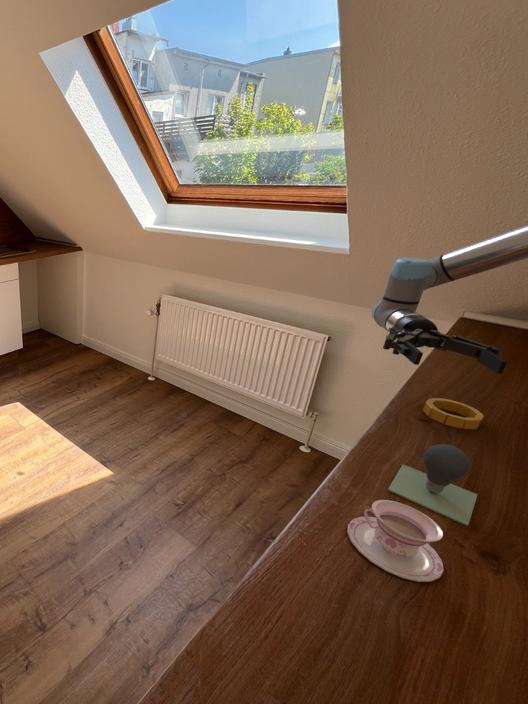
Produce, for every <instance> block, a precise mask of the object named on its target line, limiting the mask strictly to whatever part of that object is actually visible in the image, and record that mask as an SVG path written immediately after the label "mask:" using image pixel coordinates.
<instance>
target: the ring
mask: <svg viewBox="0 0 528 704" xmlns="http://www.w3.org/2000/svg"><path fill="white" fill-rule="evenodd" d="M443 410H445V411H443ZM446 411H449V412H453V413H456V414H451V413H448V412H446ZM422 412H423V413H424V414H425V415H426V416H427V417H429V418H430V419H432V420H434V421H436V422H438V423H441V424H442V425H445V426H449V427H452V428H456V429H462V430H477V429H478V428H479V427H480V426H481V424H482V422H483V420H484V417H485V415H484V414H483V413H482V412H481V411H480V410H478V409H477V408H475V407H473V406H470V405H468V404H466V403H463V402H460V401H457V400H452V399H447V398H442V397H440V398H439V397H438V398H437V397H431V398H428V399H427V400H426V401H425V403H424V406H423V408H422ZM457 414H458V415H457ZM459 415H460V416H459Z"/></svg>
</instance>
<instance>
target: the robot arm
mask: <svg viewBox="0 0 528 704" xmlns="http://www.w3.org/2000/svg"><path fill="white" fill-rule="evenodd" d="M526 259H528V224H525V225H523V226H520V227H517V228H514V229H512V230H509V231H506V232H503V233H500V234H496V235H494V236H492V237H488V238H486V239H483V240H480V241H477V242H475V243H472V244H469V245H466V246H463V247H461V248H457V249H455V250H452V251H449V252H446V253H443V254H441V255H437V256H435V257H432V258H430V259H426V258H418V257H399V258H397V259H396V260H395V262H394V264H393V266H392V268H391V270H390V272H389V277H388V281H387V283H386V287H385V290H384V293H383V297H382V299H381V300H380V301H378V302H377V303H376V304H374V306H373V307H372V310H371V317H372V319H373V320H374V321H375V323H376V324H377V325H378V326H379V327H380V328H383V329H384V330H385V331H387V333H386V335H385V340H384V343H383V346H382V349H383V350H386V351H387V350H390V349H393V350H392V352H391V354H393V355H397V356H399V355H402V356H404V357H405V358H406V359H407V360H408V361H410V362H411V363H412V364H413V365H414V366H415V365H416V366H419V365H420V362H421V360H422V358H423V355H424V352H422V351H421V350H420V349H418V348H423V347H427V348H434V349H436V350H440V351H443V352H445V351H449V352H450V351H451V352H454V353H458V354H461V355H464V356H468V357H470V358H473V359H477V362H479V363H480V364H482V365H483V366H485V367H486V368H488V369H490V370H491V371H492V372H494V373H496V374H498V375H503V373H504V371H505V368H506V366H507V364H508V360H505V359H504V358H502V357H500V354H501V349H500V348H497V347H494V346H493V345H488V344H485V343H482V342H479V341H477V340H474V339H470V338H468V337H465V336H463V335H461V334H458V333H452V335H449V334H447V333H446V334H445V333H442V332H441V331H439V329H438V327H437V325H436V324H435V323H434V322H433V321H432V320H430V319H428V318H427V317H426V316H424V315H422V314H421V313H419V312H417V309H418V306H419V304H420V301H421V298H422V295H423V293H424V291H426V290H429V289H431V288H436V287H439V286H441V285H445V284H449V283H451V282H454V281H458V280H460V279H464V278H467V277H470V276H474V275H478V274H480V273H484V272H487V271H491V270H494V269H497V268H500V267H503V266H507V265H510V264H513V263H514V264H515V263H517V262H520V261H524V260H526ZM442 345H443V346H442Z"/></svg>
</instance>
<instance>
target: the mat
mask: <svg viewBox="0 0 528 704" xmlns="http://www.w3.org/2000/svg"><path fill="white" fill-rule="evenodd" d="M427 479H428V478H427V472H426V473H425V472H423V471H421V470H418V469H415V468H413V467H410V466H409V465H405V464H401V467H400V468H399V470H398V471H397V473H396V475H395V476H394V478H393V480H392V481H391V483H390V484H389V486H388V488H387V491H388V492H390V493H393V494H394V495H397V496H399V497H401V498H402V499H405V500H408V501H411V502H412V503H414V504H416V505H418V506H421V507H423V508H425V509H428V510H430V511H432V512H433V513H434V512H435V513H436V514H439V515H441V516H443V517H445V518H448V519H450V520H452V521H454V522H457V523H459V524H460V525H463V526H465V527H469V524H470V521H471V518H472V514H473V510H474V509H475V504H476V502H477V498H478V493H475V492H472V491H470V490H468V489H465V488H463V487H460V486H458V485H455V484H453V483H450V484H449V485H447V486H445V488H444V490H443V491H442V492H441V493H434V492H431V491H430V490H428V489H427V488H426V485H425V484H426V481H427Z"/></svg>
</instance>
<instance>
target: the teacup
mask: <svg viewBox="0 0 528 704" xmlns="http://www.w3.org/2000/svg"><path fill="white" fill-rule="evenodd" d="M363 507H364V509H363V516H358V517H355V518H352V519H351V521H350V522H349V523H348V524H347V529H346V533H347V536H348V538H349V540H350V542H351V544H352V545H353V546H354V547H355V549H356V550H357V552H359V554H360V555H362V556H363V557H364V558H365V559H367V560H368V561H369V562H370V563H372V564H373V565H375V566H377V567H379V568H380V569H382V570H383V571H385V572H387V573H390V574H391V575H394V576H396V577H398V578H401V579H404V580H407V581H413V582H417V583H432V582H434V581H436V580H439V579H441V577H442V575H443V573H444V571H445V569H444V564H443V560H442V558H441V557H440V556H439V553H438V552H437V551H436V550H435V549H434V548H433V547H432V546H431V545H430V544H431V543H434V542H439V541H440V540H441V539H443V536H444V534H443V530H442V527H440V525H439V524H438V523H437V522H436V521H434V520H433V519H432V518H431V517H430V516H428V515H426V514H425V513H423V512H422V511H420V510H418V509H416V508H414V507H412V506H410V505H407V504H405V503H402V502H398V501H394V500H390V499H378V500H375V501H373V502H372V504H371V506H369V505H364V506H363ZM368 512H371V513H372V514H373V515H374V516H369V514H368Z"/></svg>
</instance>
